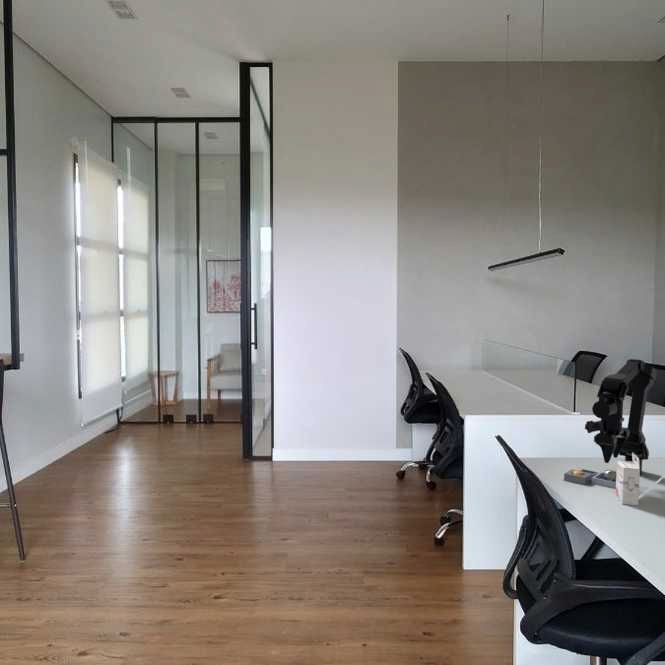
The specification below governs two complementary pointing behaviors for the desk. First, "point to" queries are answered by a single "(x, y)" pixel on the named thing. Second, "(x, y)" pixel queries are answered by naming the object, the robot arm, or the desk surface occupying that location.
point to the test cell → (610, 475)
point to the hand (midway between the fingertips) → (611, 460)
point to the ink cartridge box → (628, 481)
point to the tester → (579, 476)
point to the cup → (602, 481)
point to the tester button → (578, 473)
